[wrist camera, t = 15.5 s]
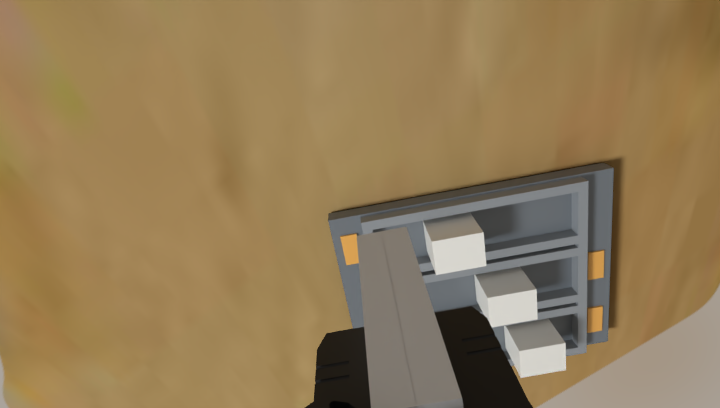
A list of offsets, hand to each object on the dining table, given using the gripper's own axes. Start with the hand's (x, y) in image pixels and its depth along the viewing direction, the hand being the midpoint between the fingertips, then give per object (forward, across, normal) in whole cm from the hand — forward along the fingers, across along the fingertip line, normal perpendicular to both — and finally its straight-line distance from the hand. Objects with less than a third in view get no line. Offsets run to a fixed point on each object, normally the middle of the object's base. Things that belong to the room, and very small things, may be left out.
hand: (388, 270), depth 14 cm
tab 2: (+23, +10, -17) cm, 30 cm away
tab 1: (+23, +6, -11) cm, 26 cm away
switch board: (+24, +8, -17) cm, 31 cm away
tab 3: (+23, +12, -23) cm, 35 cm away
